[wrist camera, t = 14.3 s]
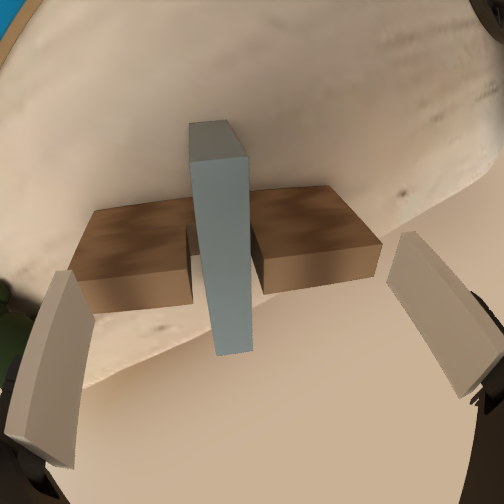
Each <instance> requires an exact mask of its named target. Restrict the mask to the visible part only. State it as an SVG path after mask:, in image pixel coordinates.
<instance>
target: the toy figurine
mask: <svg viewBox="0 0 504 504" xmlns="http://www.w3.org/2000/svg"><path fill="white" fill-rule="evenodd" d="M9 295H10V293H9V291H8V289H7V288H6V286H5V285H3V284H1V283H0V388H1V389H2V388H3V384H4V382H5V377H6V374H7V371H8V367H9V365H10V364H11V362H12V361H13V359H14V358H15V356H16V355H24V352H25V348H26V345H27V342H28V340H29V337H30V334H31V331H32V328H33V325H34V323H35V320H36V317H37V315H34V316H31V317H30V318H28V317H26V316H24V315H21V314H18V313H9V311H8V308H7V306H6V304H7V302H8V299H9Z"/></svg>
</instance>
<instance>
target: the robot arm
mask: <svg viewBox="0 0 504 504" xmlns="http://www.w3.org/2000/svg"><path fill="white" fill-rule="evenodd" d="M470 1H471V3H472V6H473V8H474V10H475V12H476V14H477V15H478V17H479V19H480V20H481V22H482V24H483V25H484V26H485V28H486V29H487V30H488V32H489V33H490V34H491V35H492V36H493V37H494V38H495V39H496V40H497V41H499V42H500V43H502V44H504V0H470ZM387 284H388V286H389V287H390V288H391V290H392V291H393V293H394V294H395V296H396V297H397V299H398V300H399V301H400V303H401V305H402V306H403V307H404V309H405V311H406V312H407V314H408V315H409V317H410V318H411V320H412V321H413V323H414V324H415V326H416V327H417V329H418V330H419V332H420V334H421V335H422V337H423V338H424V340H425V342H426V343H427V345H428V346H429V348H430V349H431V351H432V353H433V355H434V356H435V358H436V360H437V361H438V363H439V364H440V366H441V368H442V370H443V371H444V373H445V375H446V377H447V378H448V380H449V382H450V383H451V385H452V387H453V389H454V391H455V392H456V394H457V396H458V398H459V399H460V398H462V397H464V396H466V395H467V394H469V393H471V392H473V391H474V390H475V388H476V387H477V386H478V385H479V384H480V383H481V384H482V385H483V388H482V389H481V390H480V391H479V392H478V393H477V394H476V395H475V396H474V397H473V398H472V399H471V401H470V404H473V403H474V402H475V401H476V400H477V399H478V398H479V400H478V401H477V402H476V404H475V406H478V413H477V421H476V428H475V435H474V441H473V446H472V451H471V457H470V462H469V466H468V470H467V475H466V479H465V483H464V487H463V490H462V494H461V497H460V501H459V504H504V327H503V326H502V324H501V323H500V322H499V320H498V319H497V318H496V317H495V315H494V314H493V312H492V311H491V310H489V307H488V306H487V305H486V304H485V302H484V301H483V300H482V299H481V298H480V297H479V296H477V295H476V294H475V293H473V292H472V291H469V290H468V289H467V288H466V287H465V285H464V284H463V283H462V282H461V281H460V279H459V278H458V277H457V276H456V275H455V274H454V273H453V271H452V270H451V269H450V268H449V267H448V266H447V265H446V264H445V262H444V261H442V259H441V258H440V257H439V256H438V255H437V254H436V253H435V252H434V251H433V249H431V248H430V246H429V245H428V244H427V243H426V242H425V241H424V240H423V239H422V238H421V237H420V236H419V235H418V234H417V233H416V232H415V231H414V232H405V233H402V234H401V237H400V240H399V244H398V247H397V251H396V254H395V258H394V260H393V264H392V267H391V270H390V273H389V276H388V279H387ZM94 323H95V318H94V316H93V314H92V312H91V310H90V308H89V306H88V304H87V302H86V300H85V298H84V296H83V293H82V291H81V289H80V287H79V285H78V282H77V280H76V278H75V275H74V273H73V271H72V270H65V271H56V272H55V274H54V277H53V279H52V281H51V283H50V286H49V288H48V290H47V293H46V295H45V297H44V300H43V302H42V305H41V307H40V310H39V312H38V315H37V317H36V320H35V323H34V325H33V328H32V331H31V334H30V337H29V340H28V342H27V345H26V348H25V352H24V355H16V356H15V358H14V359H13V361H12V362H11V364H10V365H9V367H8V371H7V374H6V377H5V382H4V384H3V388H2V393H1V395H0V504H70V503H69V501H68V500H67V498H66V497H65V495H64V494H63V492H62V491H61V490H60V488H59V486H58V485H57V484H56V482H55V480H54V479H53V477H52V475H51V474H50V472H49V471H48V470H47V469H46V468H45V463H46V462H48V463H50V464H51V465H53V466H55V467H60V468H67V469H73V470H74V460H75V459H74V458H75V445H76V433H77V424H78V415H79V407H80V399H81V392H82V386H83V379H84V373H85V368H86V362H87V357H88V351H89V346H90V341H91V337H92V332H93V328H94Z"/></svg>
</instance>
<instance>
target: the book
mask: <svg viewBox="0 0 504 504" xmlns="http://www.w3.org/2000/svg"><path fill="white" fill-rule="evenodd" d="M42 1H43V0H0V68H1V66H2V64H3V62H4V60H5V59H6V57H7V55H8V53H9V51H10V50H11V48H12V46H13V45H14V43H15V41H16V40H17V38H18V36H19V35H20V33H21V31H22V30H23V28H24V27H25V25H26V24H27V22H28V21H29V19H30V18H31V16H32V15H33V13H34V12H35V10H36V9H37V8H38V6H39V5H40V4H41V2H42Z"/></svg>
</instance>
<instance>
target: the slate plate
mask: <svg viewBox="0 0 504 504" xmlns="http://www.w3.org/2000/svg"><path fill="white" fill-rule="evenodd" d="M189 165H190V175H191V184H192V193H193V202H194V210H195V218H196V226H197V234H198V242H199V249H200V256H201V263H202V270H203V277H204V284H205V290H206V297H207V303H208V309H209V315H210V321H211V327H212V333H213V339H214V345H215V350H216V355H217V356H222V355H229V354H236V353H242V352H249V351H253V343H252V296H251V251H250V205H249V157H248V155H247V153H246V152H245V150H244V148H243V147H242V145H241V143H240V142H239V140H238V138H237V137H236V135H235V133H234V132H233V130H232V128H231V127H230V125H229V123H228V122H227V120H220V121H209V122H198V123H189Z"/></svg>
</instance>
